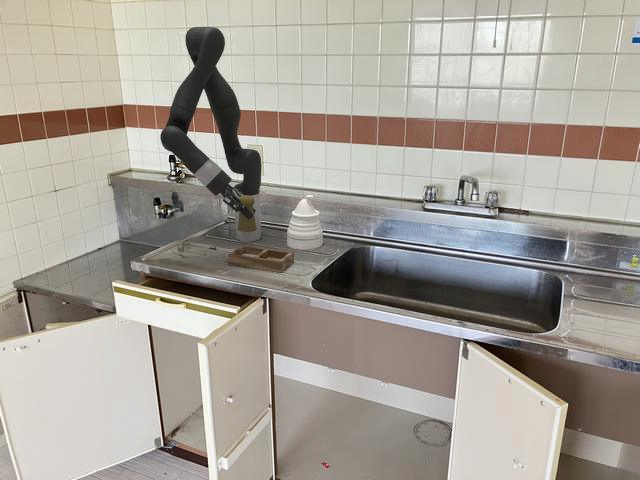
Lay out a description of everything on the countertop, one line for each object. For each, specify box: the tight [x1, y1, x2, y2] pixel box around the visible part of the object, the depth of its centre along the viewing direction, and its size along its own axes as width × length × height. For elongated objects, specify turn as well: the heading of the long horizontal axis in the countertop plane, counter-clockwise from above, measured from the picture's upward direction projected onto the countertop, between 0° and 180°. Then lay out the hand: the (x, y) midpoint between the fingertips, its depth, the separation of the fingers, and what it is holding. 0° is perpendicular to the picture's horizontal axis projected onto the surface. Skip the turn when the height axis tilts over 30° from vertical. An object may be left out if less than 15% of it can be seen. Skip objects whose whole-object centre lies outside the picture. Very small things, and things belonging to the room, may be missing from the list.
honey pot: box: [286, 194, 324, 251], centre depth 183 cm, size 13×13×18 cm
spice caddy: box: [227, 244, 295, 274], centre depth 165 cm, size 10×19×4 cm, turn 70°
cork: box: [238, 195, 257, 232], centre depth 162 cm, size 6×6×11 cm
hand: (252, 215), depth 162 cm, fingers closed on cork, 4 cm apart
